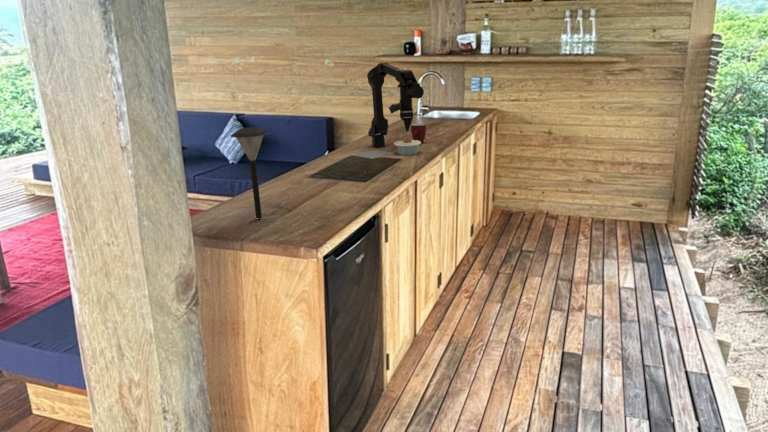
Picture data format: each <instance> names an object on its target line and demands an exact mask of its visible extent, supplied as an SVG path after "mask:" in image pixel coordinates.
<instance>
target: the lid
mask: <svg viewBox="0 0 768 432" xmlns="http://www.w3.org/2000/svg"><path fill="white" fill-rule="evenodd" d="M402 138H403V140H398V141H395V142H393V143H394V145H395V146H396V147H397V146H416V145H418V146H420V145H421V144H422V143H421V141H418V140H413V137H412V133H403V137H402Z"/></svg>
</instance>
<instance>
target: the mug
mask: <svg viewBox="0 0 768 432" xmlns="http://www.w3.org/2000/svg"><path fill="white" fill-rule="evenodd" d="M410 131H411V135H412V140H418V141H421V144H423V143H424V141H425V139H426V132H427V124H426V123H411V125H410Z"/></svg>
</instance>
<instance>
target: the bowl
mask: <svg viewBox="0 0 768 432" xmlns="http://www.w3.org/2000/svg"><path fill="white" fill-rule="evenodd" d="M396 148H397V149H396V150H397V153H396V154H398V155H400V156H401V155H402V156H405V155H406V156H411V155H417V154H419V151H420V150H419V145H416V146H396Z"/></svg>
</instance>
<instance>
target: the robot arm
mask: <svg viewBox="0 0 768 432" xmlns="http://www.w3.org/2000/svg"><path fill="white" fill-rule="evenodd" d="M366 75H367V76H366V78H367V83H368V84H369V86H370V88H371V92H372V93H371V94H372V106H373V108H372V109H373V117H372V120H371V125H370V126H371V127H370V128H369V130H368V132H367V134H368V136H369V137H371V144H372V145H370V148H375V149H380V148H384V147H385V148H386V143H385V142H386V140H385V136H387V135H388V131H389V120H388V118H386V117H385V116H384V115H385V114H384V103H383V85H384V84H385V77H386V76H387V75H388V76H391V77H393V78H395V81H396V82H398V83H399V84H398V85H397V88H399V102H397V103H393V104H390V106H388V109H389V112H390V114H391V115H392V114H394V113H395V112H398V111H399V118H400V120H402V121H403V123H404V129H405V132H410V131H409V130H410V129H411V125H412V122H413V119H414V108H413V99H421V98H423V95H424V93H425V91H424V88H423V87H422V86H421V83H418V80H417V78H416V76H415V74H414V72H413V70H412V69H401V68H399V67H396V66H394V65H391V64H389V63H388V62H380V63H378V64H377V65H376V66H374V67H372V68H371V69H370V70H368V73H367V74H366Z"/></svg>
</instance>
